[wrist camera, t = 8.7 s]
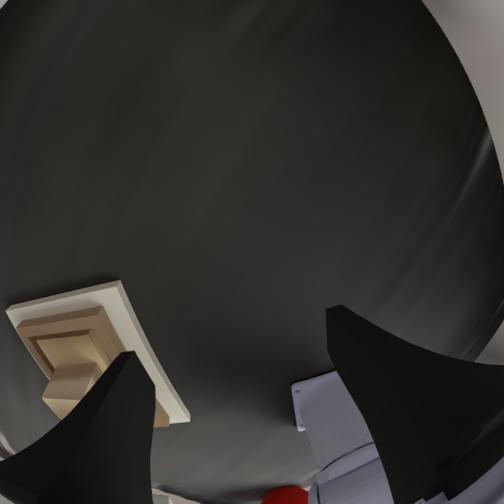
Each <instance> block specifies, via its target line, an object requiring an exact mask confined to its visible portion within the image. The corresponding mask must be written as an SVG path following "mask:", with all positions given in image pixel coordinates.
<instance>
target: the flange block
mask: <svg viewBox="0 0 504 504" xmlns="http://www.w3.org/2000/svg"><path fill="white" fill-rule="evenodd" d="M36 341H37V343H38V344H39V346H40V348H41V349H42V351H43V352H44V354H45V355H46V357H47V358H48V360H49V361H50V363H51V364H52V366H53V367H54V369H55V371H54V373H53V375H52V377H51V379H50V381H49V383H48V385H47V388H46V390H45V392H44V394H43V396H42V399H43V400H44V401H45V402H46V404H47V405H48V406H49V407H50V408H51V409H52V410H53V412H54V413H55V414H56V415H57V416H58V417H59V418H60V419H61V420H62V419H63V418H65V417H66V416H67V415H68V414H69V413H70V412H71V410H72V409H73V408H74V407H75V406H76V405H77V404H78V403H79V401H80V400H81V399H82V398H83V397H84V396H85V395H86V393H87V392H88V391H89V390H90V389H91V388H92V386H93V385H94V384H95V383H96V381H97V380H98V379H99V378H100V376H101V375H102V374H103V373H104V371H105V370H106V369H107V368H108V367H109V365H110V364H111V363H112V360H111V359H110V357H109V355H108V354H107V352H106V350H105V349H104V347H103V345H102V344H101V342H100V340H99V338H98V337H97V335H96V333H95V331H94V329H93V328H91V329H84V330H78V331H71V332H64V333H56V334H49V335H41V336H39V337H38V338H37V340H36Z"/></svg>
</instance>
